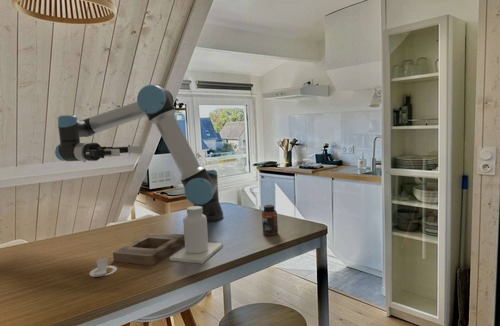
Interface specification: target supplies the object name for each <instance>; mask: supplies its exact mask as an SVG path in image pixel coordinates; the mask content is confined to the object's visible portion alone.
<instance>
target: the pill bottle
mask: <svg viewBox="0 0 500 326" xmlns="http://www.w3.org/2000/svg"><path fill="white" fill-rule="evenodd" d="M202 213H203V208H202V207H201V206H188V207H187V208H186V215H185V216H184V217H183V235H184V239H185V244H184V247H185V250H186V252H187V253H191V254H198V253H202V252H205V251H207V250H208V242H209V235H208V222H207V218H206V216H205V215H204V214H202Z"/></svg>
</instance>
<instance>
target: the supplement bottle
mask: <svg viewBox="0 0 500 326" xmlns="http://www.w3.org/2000/svg"><path fill="white" fill-rule="evenodd" d="M261 222H262V224H261V225H262V234H263V235H265V236H270V237H272V236H275V235H277V234H278V233H279V226H278V212H277V210H275V206H274V204H265V205H264V206H263V211H261Z"/></svg>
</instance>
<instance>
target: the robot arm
mask: <svg viewBox="0 0 500 326" xmlns="http://www.w3.org/2000/svg"><path fill="white" fill-rule="evenodd" d="M136 97H137V98H136V101H134V102H132V103H131V102H130V103H129V104H126V105H122V106H120V107H117V108H114V109H111V110H107V111H105V112H102V113H99V114H96V115H93V116H89V117H88V118H85V119H80V120H79V119H78V116H77V115H73V114H72V115H71V114H70V115H59V116H58V117H57V128H58V134H59V135H58V136H59V144H58V145H57V146H56V148H55V150H54V154H55V156H56V158H57V159H58V160H59V161H64V162H80V161H81V162H82V161H83V163H86V162H97V161H99V160H100V159H105V157H120V156H121V154H127V153H128V154H138V153H139V154H141V153H143V146H141V145H138V146H135V145H134V146H132V145H130V144H128V146H114V147H113V146H101V145H100V144H99V143H97V142H81V141H80V140H81V139H80V138H88V137H92V136H93V135H95V134H97V133H100V132H102V131H106V130H109V129H111V128H115V127H119V126H121V125H124V124H128V123H130V122H133V121H136V120H138V119H142V118H145V117H147V118H148V120H149V121H150V122H149V123H152V124H154V125H155V126H156V127H157V129H158V132H159V133H160V136H161V138H162V139H163V142H164V143H165V146H166V147H167V149H168V151H169V153H170V155H171V157H172V159H173V160H174V163H175V164H176V166H177V168H178V171H179V172H180V175H181V176H180V177H181V178H180V182H181V184H182V185H183V188H184V196H185V197H186V199H187V201H189V202H190V203H191V204H193V206H201V207H202V208H203V213H202V214H204V215H205V216H206V218H207V223H211V222H215V221H219V220H222V219H223V218H224V211H223V209H222V206H221V203H220V200H219V199H220V198H219V184H218V177H219V175H218V172H217V170H216V169H206V167H204V166H201V165H200V164H199V162H198V161H199V160H198V159H197V157H196V155H195V153H194V152H193V150H192V148H191V145H190V144H189V142H188V140H187V138H186V135H185V134H184V132H183V130H182V128H181V126H180V123H179V121H178V120H177V118H176V116H175V114H176V111H177V110H176V109H175V106H174V103H175V102H174V96H173V95H172V92H170V91H169V89H167V88H164V87H162V86H159V85H158V84H146V85H145V86H143V87H142V88H141V89H140V90H139V92H137V96H136Z"/></svg>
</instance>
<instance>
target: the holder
mask: <svg viewBox="0 0 500 326" xmlns="http://www.w3.org/2000/svg"><path fill="white" fill-rule="evenodd" d="M183 245H185V239H184V233H181V234H180V233H165V232H153V231H152V232H150V233H148V234H146V235H144V236H142V237H141V238H139V239H136V240H135V241H133V242H131V243H129V244H127V245H125V246H123V247H121V248H119V249H116V251H113V252H112V257H113V262H116V263H117V262H118V263H125V264H134V265H135V264H136V265H145V266H154V265H155V264H156V263H158V262H159V261H161V260H162V259H164V258H165V257H167V256H168V255H169V254H172V253H173V252H174V251H176V250H177V249H178V248H180V247H182V246H183ZM149 246H152V247H157V248H147V247H149Z"/></svg>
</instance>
